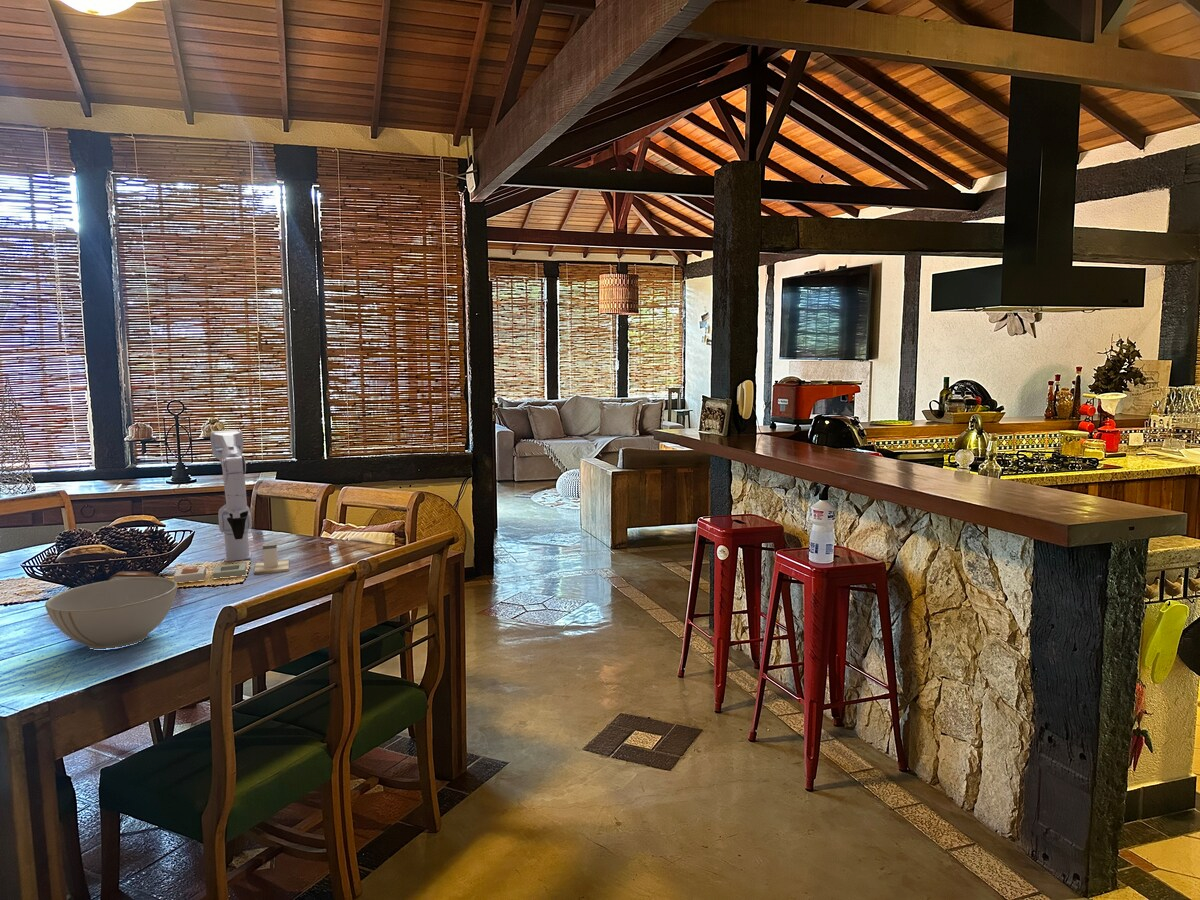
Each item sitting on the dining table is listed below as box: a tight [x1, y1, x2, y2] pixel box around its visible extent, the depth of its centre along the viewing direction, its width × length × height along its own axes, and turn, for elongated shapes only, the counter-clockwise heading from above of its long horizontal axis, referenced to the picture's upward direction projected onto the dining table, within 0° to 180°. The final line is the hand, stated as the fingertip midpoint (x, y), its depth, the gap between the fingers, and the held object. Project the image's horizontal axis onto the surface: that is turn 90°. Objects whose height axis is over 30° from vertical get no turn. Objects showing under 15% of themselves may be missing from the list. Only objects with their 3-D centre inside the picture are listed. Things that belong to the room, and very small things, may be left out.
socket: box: [212, 562, 248, 579], centre depth 247 cm, size 9×9×2 cm
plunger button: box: [181, 566, 198, 574], centre depth 242 cm, size 4×4×3 cm
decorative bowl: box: [44, 576, 178, 649], centre depth 189 cm, size 27×27×12 cm
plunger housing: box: [173, 566, 207, 583], centre depth 242 cm, size 8×8×2 cm
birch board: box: [253, 559, 290, 576], centre depth 253 cm, size 12×10×1 cm
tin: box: [107, 570, 158, 581], centre depth 221 cm, size 15×3×8 cm, turn 84°
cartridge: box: [262, 542, 279, 568], centre depth 253 cm, size 4×4×7 cm
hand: (239, 536), depth 252 cm, fingers open, 7 cm apart
